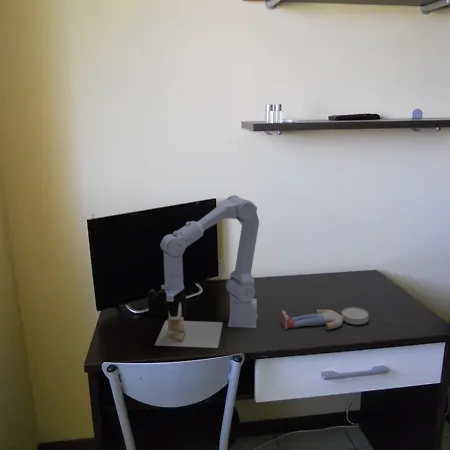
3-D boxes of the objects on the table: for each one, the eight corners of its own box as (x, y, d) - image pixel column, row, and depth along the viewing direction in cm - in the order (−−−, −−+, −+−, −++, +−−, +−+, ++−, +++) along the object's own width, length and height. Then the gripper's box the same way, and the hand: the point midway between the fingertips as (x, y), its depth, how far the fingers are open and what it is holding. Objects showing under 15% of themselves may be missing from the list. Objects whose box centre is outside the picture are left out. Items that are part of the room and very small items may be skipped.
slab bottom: (185, 334, 160) (184, 326, 159) (182, 342, 155) (182, 333, 154) (170, 334, 160) (169, 325, 159) (167, 341, 155) (166, 333, 154)
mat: (222, 323, 168) (222, 322, 168) (217, 348, 151) (217, 347, 151) (165, 321, 170) (165, 320, 169) (154, 346, 153) (154, 345, 153)
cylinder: (182, 314, 157) (181, 301, 156) (180, 319, 153) (180, 306, 152) (170, 314, 157) (169, 301, 156) (168, 319, 154) (167, 306, 152)
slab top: (183, 325, 159) (183, 317, 158) (184, 332, 154) (183, 324, 154) (168, 326, 159) (167, 318, 158) (168, 334, 154) (167, 325, 153)
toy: (288, 321, 158) (375, 312, 162) (278, 305, 170) (360, 297, 174) (288, 337, 160) (375, 328, 164) (278, 320, 172) (359, 311, 176)
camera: (193, 308, 180) (192, 283, 177) (183, 321, 170) (182, 294, 167) (158, 304, 183) (156, 279, 180) (146, 316, 173) (145, 290, 171)
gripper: (165, 264, 159) (167, 302, 162) (155, 281, 145) (157, 323, 148) (187, 265, 158) (188, 303, 162) (179, 282, 144) (180, 323, 148)
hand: (175, 312), depth 155 cm, fingers closed on cylinder, 4 cm apart
